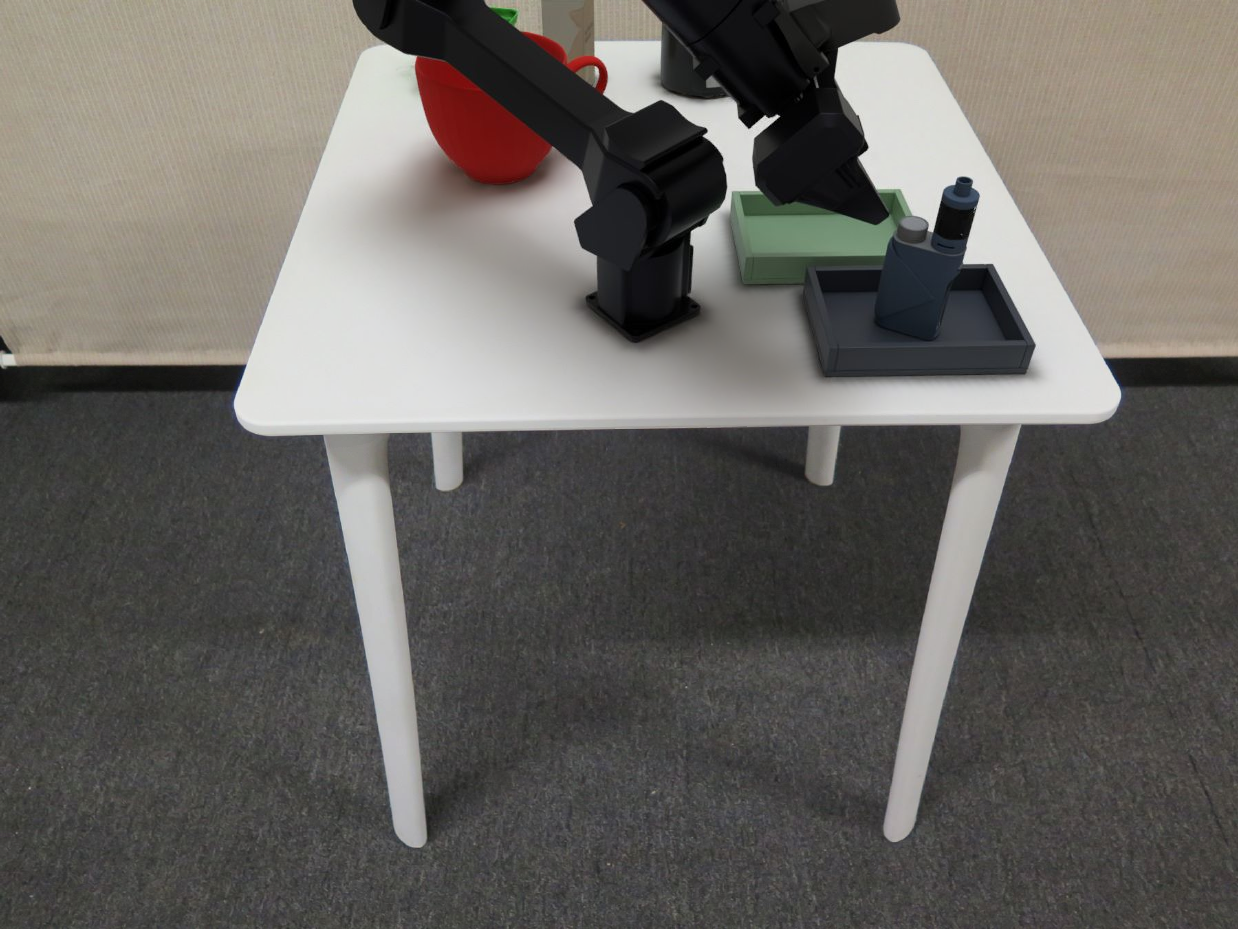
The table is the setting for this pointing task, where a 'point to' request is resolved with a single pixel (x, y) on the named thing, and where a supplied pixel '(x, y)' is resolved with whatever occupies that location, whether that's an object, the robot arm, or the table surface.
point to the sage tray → (805, 237)
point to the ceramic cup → (486, 119)
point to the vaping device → (925, 264)
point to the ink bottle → (683, 69)
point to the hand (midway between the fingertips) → (872, 184)
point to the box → (571, 30)
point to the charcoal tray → (967, 343)
